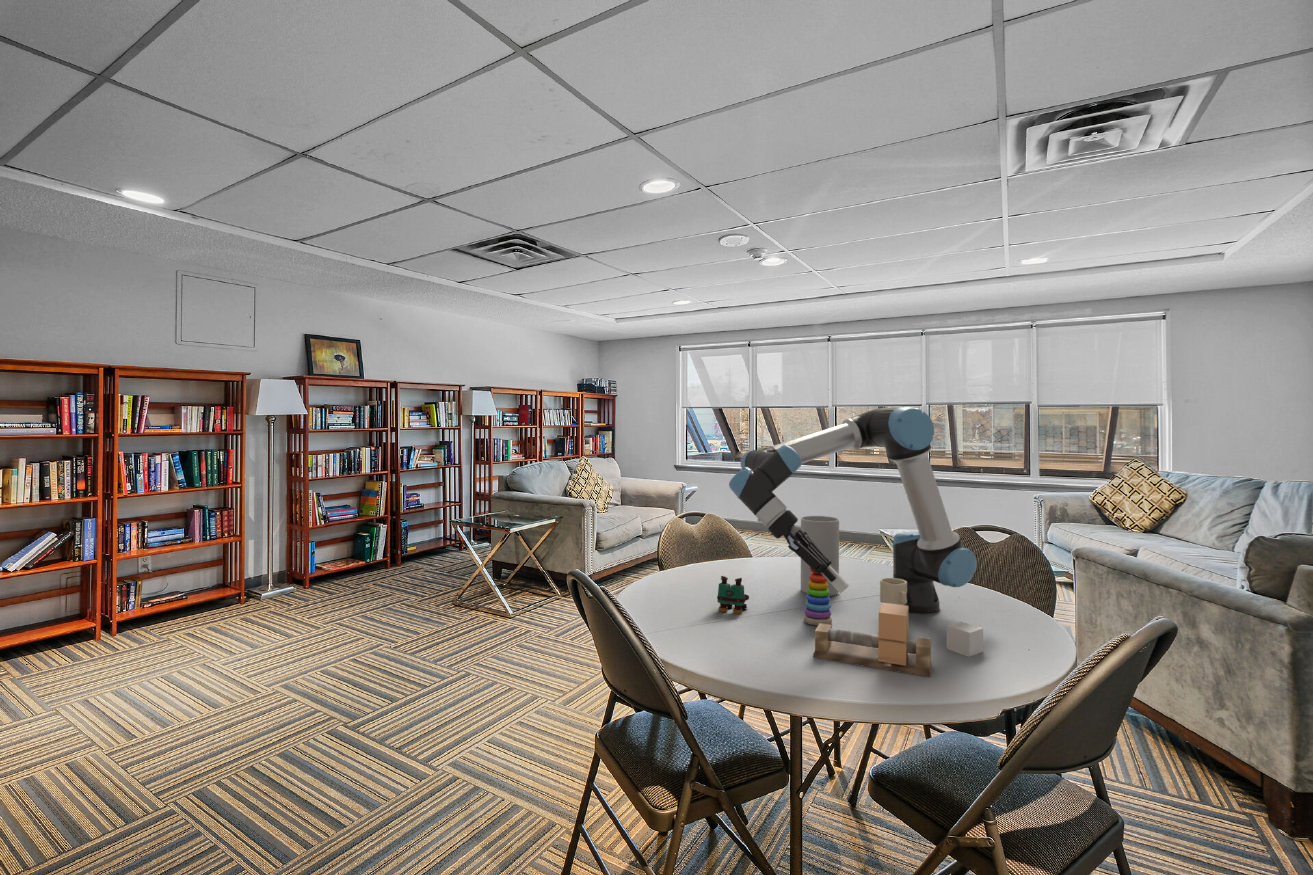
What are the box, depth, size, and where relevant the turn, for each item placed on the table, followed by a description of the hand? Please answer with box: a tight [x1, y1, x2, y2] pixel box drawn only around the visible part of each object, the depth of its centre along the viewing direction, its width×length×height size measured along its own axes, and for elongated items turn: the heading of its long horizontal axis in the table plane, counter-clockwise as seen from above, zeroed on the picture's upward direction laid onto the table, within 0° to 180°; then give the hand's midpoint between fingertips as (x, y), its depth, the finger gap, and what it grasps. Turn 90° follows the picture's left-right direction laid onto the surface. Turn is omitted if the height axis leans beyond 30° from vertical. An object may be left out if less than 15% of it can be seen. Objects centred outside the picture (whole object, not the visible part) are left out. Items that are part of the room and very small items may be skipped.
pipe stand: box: [812, 623, 932, 678], centre depth 144 cm, size 26×10×6 cm, turn 64°
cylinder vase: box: [800, 515, 840, 597], centre depth 201 cm, size 12×12×25 cm
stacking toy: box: [803, 567, 833, 627], centre depth 171 cm, size 8×8×19 cm
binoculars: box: [716, 575, 750, 615], centre depth 183 cm, size 9×11×10 cm
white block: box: [946, 621, 984, 657], centre depth 150 cm, size 6×6×6 cm
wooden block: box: [877, 603, 909, 666], centre depth 142 cm, size 6×8×12 cm
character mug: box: [879, 577, 907, 605], centre depth 167 cm, size 11×7×13 cm, turn 11°
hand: (844, 589), depth 147 cm, fingers closed
